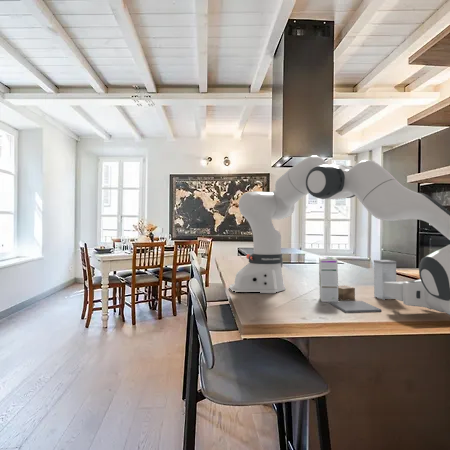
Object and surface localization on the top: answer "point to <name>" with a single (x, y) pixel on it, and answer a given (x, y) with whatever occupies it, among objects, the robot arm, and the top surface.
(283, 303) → the top surface
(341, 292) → the walnut block
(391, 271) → the tea tin
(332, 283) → the syrup box
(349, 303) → the slate coaster
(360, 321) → the top surface
